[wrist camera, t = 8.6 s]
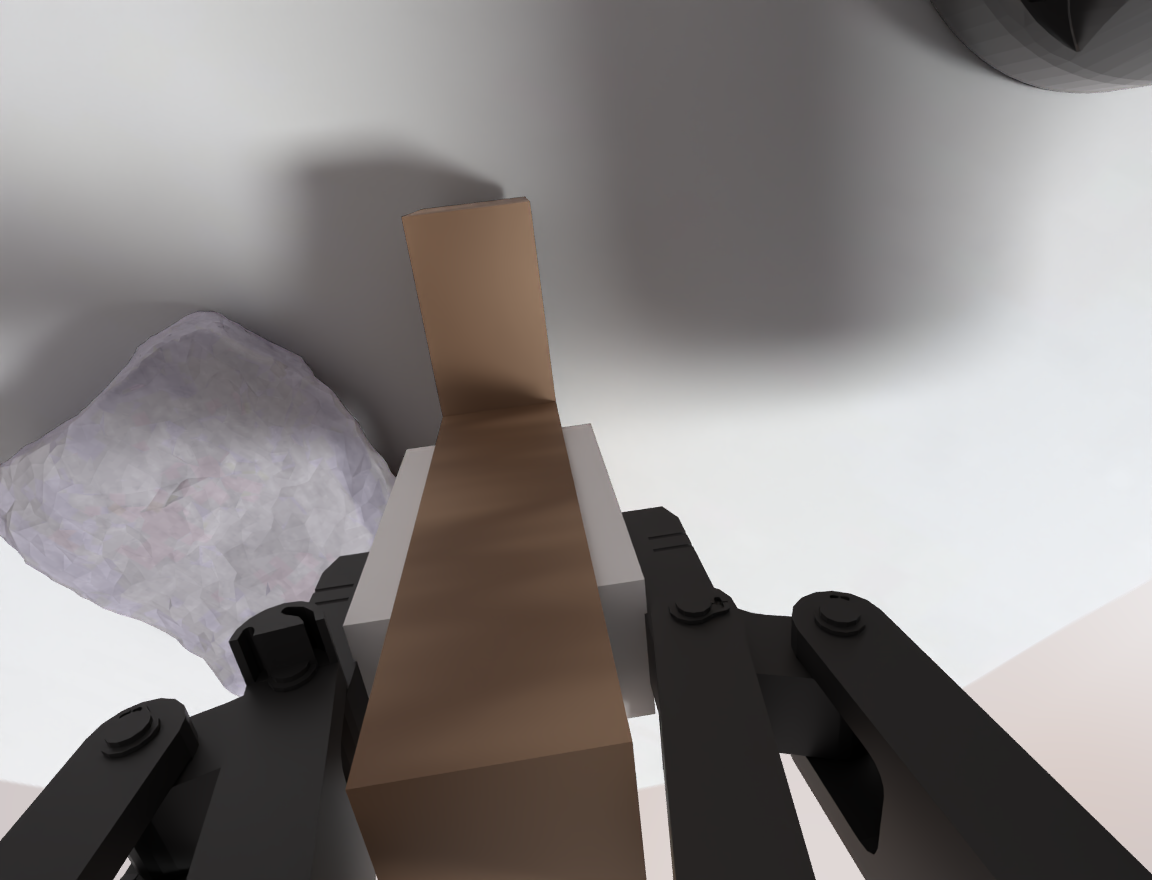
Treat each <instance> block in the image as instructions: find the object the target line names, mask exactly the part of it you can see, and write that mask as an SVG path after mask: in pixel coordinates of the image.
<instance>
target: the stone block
mask: <svg viewBox="0 0 1152 880" xmlns="http://www.w3.org/2000/svg"><path fill="white" fill-rule="evenodd" d="M395 480H396V477H395V476H394V475H393V474H392V473H391V471H390V469H389V467H388V464H387V463H386V461H385V460H384V459H383V457H382V456H381V455H379V453H378V452H377V451H376V450H375V449H374V448H373V446H372V445H371V444H370V443H369V441H368V440H367V438H366V436H365V435H364V433H363V431H362V429H361V427H360V425H359V423H358V422H357V421H356V420H355V419H354V417H353V416H352V415H351V414H350V413H349V412H348V410H347V409H346V408H345V407H344V406H343V404H342V403H341V401H340V400H339V399H338V397H337V396H336V395H335V393H334V392H333V391H332V389H330V388H329V387H327V386H326V385H325V384H324V383H322V382H321V381H320V380H318V379H317V378H316V377H315V376H314V374H313V372H312V370H311V369H310V367H309V366H308V365H307V364H306V363H305V362H304V361H303V359H302V357H301V356H299V355H297V354H295V353H293V352H291V351H289V350H286V349H284V348H282V347H280V346H278V345H276V344H274V343H272V342H270V341H268V340H266V339H264V338H262V337H261V336H259V335H257V334H255V333H253V332H251V331H249V330H247V329H245V328H244V327H243V326H241V325H240V324H239V323H236V322H234V321H231V320H229V319H227V318H226V317H225V316H223V315H222V314H221V313H217V312H213V311H209V312H203V311H197V312H195V313H191V314H189V315H187V316H185V317H183V318H181V319H180V320H179V321H178V322H176V323H174V324H173V325H171V326H169V327H168V328H166V329H165V330H163V331H161V332H160V333H159V334H156V335H153V336H151V337H150V338H149V339H148V340H147V341H145V342H144V343H143V344H141V345H140V346H138V347H137V349H136V352H135V353H134V355H133V356H132V358H131V359H130V361H129V363H128V365H127V366H126V367H125V368H123V369H122V370H121V371H120V373H119V374H118V375H117V376H116V377H115V378H114V379H113V380H112V381H111V382H110V383H109V385H108V386H107V387H106V388H105V389H104V390H103V391H102V392H101V393H100V394H99V395H98V396H97V397H96V398H95V399H93V400H92V401H91V403H90V404H89V405H88V406H87V407H86V408H84V409H83V410H81V412H80V413H79V414H78V415H77V416H75V417H73V418H71V419H69V420H68V421H66V422H64V423H63V424H61V425H59V426H58V427H56V428H55V429H53V430H52V431H50V432H49V433H47V434H46V435H44V436H43V437H41V438H40V439H38V440H37V441H35V442H33V443H30V444H27V445H25V446H24V447H23V448H22V449H21V450H19V451H18V452H17V453H16V454H15V455H14V456H12V457H11V458H10V459H9V460H8V461H6V462H5V463H2V464H1V465H0V536H1V537H3V538H4V540H5V541H6V542H7V543H8V544H9V545H11V546H12V547H13V548H15V549H16V550H17V551H18V553H19V554H20V555H21V556H22V557H23V558H24V561H25V563H26V564H28V565H29V566H31V567H33V568H34V569H36V570H38V571H39V572H41V573H43V574H45V575H46V576H48V577H49V578H50V579H51V580H53V581H55V582H57V583H59V584H61V585H63V586H65V587H67V588H69V589H71V590H73V591H74V592H75V593H77V594H78V595H79V596H81V597H83V598H85V599H88V600H90V601H92V602H94V603H95V604H97V605H99V606H100V607H102V608H104V609H107V610H109V611H112V612H115V613H118V614H120V615H124V616H128V617H131V618H134V619H137V620H141V621H143V622H145V623H147V624H150V625H152V626H154V627H156V628H158V629H160V630H162V631H164V632H166V633H168V634H169V635H171V636H172V637H174V638H176V639H177V640H178V641H179V642H180V643H181V645H182V646H183V647H184V648H185V649H187V650H188V651H190V652H191V653H193V654H195V655H197V656H199V657H201V658H203V659H204V660H205V661H206V663H207V664H208V665H209V667H210V668H211V669H212V670H213V672H214V673H215V675H216V676H217V678H218V679H219V680H220V682H221V683H222V685H223V686H224V687H225V688H226V689H227V690H228V691H230V692H231V693H233V694H235V695H237V696H239V697H241V696H243V695H244V692H245V688H246V684H245V681H244V679H243V676H242V674H241V671H240V669H239V667H238V664H237V662H236V659H235V657H234V654H233V652H232V650H231V647H230V645H229V642H228V641H229V640H230V638H231V637H232V635H233V634H234V632H235V631H236V629H237V628H239V627H240V626H241V625H242V624H243V623H245V622H246V621H247V620H248V619H249V618H251V617H253V616H255V615H256V614H258V613H260V612H262V611H264V610H266V609H268V608H271V607H274V606H277V605H280V604H283V603H288V602H296V601H305V602H309V601H310V599H311V597H312V594H313V593H315V588H316V586H317V584H318V581H319V579H320V577H321V575H322V573H323V572H324V571H325V570H326V569H327V568H328V567H329V566H330V565H331V564H332V563H333V562H334V561H335V560H336V559H337V558H338V557H339V556H344V555H351V554H358V553H364V552H370V549H371V546H372V544H373V541H374V538H375V535H376V533H377V530H378V527H379V524H380V522H381V519H382V516H383V513H384V511H385V508H386V505H387V502H388V499H389V497H390V494H391V491H392V488H393V486H394V483H395Z"/></svg>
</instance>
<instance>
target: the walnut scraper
mask: <svg viewBox="0 0 1152 880" xmlns="http://www.w3.org/2000/svg"><path fill="white" fill-rule="evenodd" d="M402 222H403V227H404V232H405V237H406V242H407V246H408V251H409V256H410V261H411V266H412V271H413V275H414V280H415V285H416V290H417V295H418V300H419V304H420V309H421V314H422V319H423V324H424V329H425V333H426V338H427V343H428V348H429V353H430V358H431V362H432V367H433V372H434V377H435V382H436V387H437V392H438V396H439V401H440V406H441V411H442V416H443V418H442V422H441V426H440V429H439V433H438V437H437V441H436V445H435V449H434V452H433V456H432V460H431V464H430V468H429V471H428V475H427V479H426V483H425V487H424V491H423V494H422V498H421V502H420V506H419V510H418V514H417V517H416V521H415V525H414V529H413V533H412V537H411V540H410V544H409V548H408V552H407V556H406V559H405V563H404V567H403V571H402V575H401V579H400V582H399V586H398V590H397V594H396V598H395V602H394V605H393V609H392V613H391V617H390V621H389V625H388V628H387V632H386V636H385V640H384V644H383V647H382V651H381V655H380V659H379V663H378V667H377V670H376V674H375V678H374V682H373V686H372V690H371V693H370V697H369V701H368V705H367V709H366V713H365V716H364V720H363V724H362V728H361V732H360V735H359V739H358V743H357V747H356V751H355V755H354V758H353V762H352V766H351V770H350V774H349V778H348V781H347V785H346V789H345V790H346V793H347V796H348V799H349V801H350V804H351V807H352V810H353V812H354V815H355V818H356V821H357V823H358V826H359V829H360V832H361V834H362V837H363V840H364V843H365V845H366V848H367V851H368V854H369V856H370V859H371V862H372V865H373V867H374V870H375V873H376V876H377V878H378V880H646V871H645V861H644V851H643V841H642V832H641V821H640V812H639V802H638V792H637V782H636V772H635V762H634V753H633V743H632V738H631V733H630V729H629V724H628V720H627V715H626V711H625V707H624V702H623V698H622V693H621V689H620V684H619V680H618V676H617V671H616V667H615V662H614V658H613V653H612V649H611V644H610V640H609V636H608V631H607V627H606V622H605V618H604V613H603V609H602V605H601V600H600V596H599V591H598V587H597V582H596V578H595V573H594V569H593V565H592V560H591V556H590V551H589V547H588V542H587V538H586V534H585V529H584V525H583V520H582V516H581V511H580V507H579V502H578V498H577V494H576V489H575V485H574V480H573V476H572V471H571V467H570V463H569V458H568V454H567V449H566V445H565V440H564V436H563V431H562V427H561V423H560V418H559V414H558V409H557V405H556V400H555V392H554V384H553V377H552V369H551V361H550V354H549V346H548V338H547V330H546V323H545V315H544V307H543V300H542V292H541V284H540V276H539V269H538V261H537V253H536V246H535V238H534V230H533V222H532V215H531V207H530V201H529V200H528V199H527V198H526V197H518V198H510V199H501V200H493V201H485V202H477V203H468V204H460V205H452V206H444V207H435V208H427V209H421V210H419V211H416V212H413V213H411V214H408V215H405V216H403V217H402Z"/></svg>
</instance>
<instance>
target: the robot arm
mask: <svg viewBox="0 0 1152 880" xmlns="http://www.w3.org/2000/svg"><path fill="white" fill-rule="evenodd" d="M931 2H932V3H933V5H934V7H935V8H936V10H937V11H938V13H939V14H940V16H941V17H942V19H943V20H944V21H945V23H946V24H947V25H948V26H949V28H950V29H951V30H952V31H953V33H954V34H955V35H956V36H957V37H958V38H959V39H960V40H961V41H962V42H963V43H964V44H965V46H966V47H968V48H969V49H970V50H971V51H972V52H973V53H975V54H976V55H977V56H978V57H979V58H980V59H982V60H983V61H985V62H986V63H988V64H989V65H990V66H992V67H993V68H995V69H997V70H998V71H1000V72H1002V73H1004V74H1006V75H1007V76H1009V77H1012V78H1014V79H1016V80H1019V81H1021V82H1023V83H1026V84H1029V85H1032V86H1036V87H1039V88H1043V89H1048V90H1053V91H1060V92H1069V93H1098V92H1109V91H1116V90H1122V89H1129V88H1136V87H1143V86H1150V85H1152V0H931ZM562 431H563V436H564V440H565V445H566V449H567V454H568V458H569V463H570V467H571V471H572V476H573V480H574V485H575V489H576V494H577V498H578V502H579V507H580V511H581V516H582V520H583V525H584V529H585V534H586V538H587V542H588V547H589V551H590V556H591V560H592V565H593V569H594V573H595V578H596V582H597V587H598V591H599V596H600V600H601V605H602V609H603V613H604V618H605V622H606V627H607V631H608V636H609V640H610V644H611V649H612V653H613V658H614V662H615V667H616V671H617V676H618V680H619V684H620V689H621V693H622V698H623V702H624V707H625V711H626V715H627V718H633V717H639V716H645V715H651V714H655V704H654V698H655V702H656V705H657V709H658V712H659V722H660V735H661V748H662V761H663V770H664V780H665V791H666V801H667V813H668V825H669V835H670V847H671V857H672V869H673V880H816V879H815V876H814V872H813V869H812V865H811V862H810V859H809V855H808V851H807V848H806V845H805V841H804V838H803V835H802V831H801V827H800V824H799V820H798V817H797V813H796V810H795V807H794V803H793V799H792V796H791V793H790V789H789V786H788V782H787V779H786V776H785V772H784V768H783V765H782V761H781V758H780V754H779V753H785V754H791V756H792V759H793V760H794V762H795V764H796V766H797V767H798V769H799V771H800V772H801V774H802V776H803V777H804V779H805V781H806V782H807V784H808V786H809V787H810V789H811V791H812V792H813V794H814V796H815V797H816V799H817V800H818V802H819V804H820V805H821V807H822V809H823V810H824V812H825V814H826V815H827V817H828V819H829V820H830V822H831V824H832V825H833V827H834V829H835V830H836V832H837V834H838V835H839V837H840V838H841V840H842V842H843V843H844V845H845V847H846V848H847V850H848V852H849V853H850V855H851V857H852V858H853V860H854V862H855V863H856V865H857V867H858V868H859V870H860V872H861V873H862V875H863V876H864V878H865V880H1152V874H1151V873H1150V872H1149V871H1148V870H1147V869H1146V868H1145V867H1144V866H1143V865H1142V864H1141V863H1140V862H1139V861H1138V860H1137V859H1136V858H1135V857H1134V856H1133V855H1132V854H1131V853H1130V852H1128V850H1126V849H1125V848H1124V847H1123V846H1122V845H1121V844H1120V843H1119V842H1118V841H1117V840H1116V839H1115V838H1114V837H1113V836H1112V835H1111V834H1110V833H1109V832H1108V831H1107V830H1106V829H1105V828H1104V827H1103V826H1102V825H1101V824H1100V823H1099V822H1098V821H1097V820H1096V819H1095V818H1094V817H1093V816H1092V815H1090V813H1089V812H1087V811H1086V810H1085V809H1084V808H1083V807H1082V806H1081V805H1080V804H1079V803H1078V802H1077V801H1076V800H1075V799H1074V798H1073V797H1072V796H1071V795H1070V794H1069V793H1068V792H1067V791H1066V790H1065V789H1064V788H1063V787H1062V786H1061V785H1060V784H1059V783H1058V782H1057V781H1056V780H1055V779H1054V778H1053V777H1052V776H1051V775H1050V774H1048V773H1047V771H1046V770H1044V769H1043V768H1042V767H1041V766H1040V765H1039V764H1038V763H1037V762H1036V761H1035V760H1034V759H1033V758H1032V757H1031V756H1030V755H1029V754H1028V753H1027V752H1026V751H1025V750H1024V749H1023V748H1022V747H1021V746H1020V745H1019V744H1018V743H1017V742H1016V741H1015V740H1014V739H1013V738H1012V737H1011V736H1009V734H1008V733H1007V732H1005V731H1004V730H1003V729H1002V728H1001V727H1000V726H999V725H998V724H997V723H996V722H995V721H994V720H993V719H992V718H991V717H990V716H989V715H988V714H987V713H986V712H985V711H984V710H983V709H982V708H981V707H980V706H979V705H978V704H977V703H976V702H975V701H973V699H972V698H971V697H970V696H968V694H967V693H966V692H965V691H963V690H962V689H961V688H960V687H959V686H958V685H957V684H956V683H955V682H954V681H953V680H952V679H951V678H950V677H949V676H948V675H947V674H946V673H945V672H944V671H943V670H942V669H941V668H940V667H939V666H938V665H937V664H936V663H935V662H934V661H933V660H932V659H931V658H930V657H929V656H928V655H927V654H926V653H925V652H923V651H922V650H921V649H920V648H919V647H918V646H917V645H916V644H915V643H914V642H913V641H912V640H911V639H910V638H909V637H908V636H907V635H906V634H905V633H904V632H903V631H902V630H901V629H900V628H899V627H898V626H897V625H896V624H895V623H894V622H893V621H892V620H891V619H890V618H889V617H888V616H887V615H886V614H885V613H884V612H882V611H881V610H880V609H879V608H878V607H876V606H875V605H873V604H872V603H870V602H869V601H868V600H866V599H863V598H860V597H858V596H855V595H852V594H849V593H842V592H836V591H826V592H815V593H812V594H810V595H807V596H805V597H802V598H801V599H800V600H799V601H798V602H797V603H796V604H795V605H794V606H793V612H792V617H789V616H775V615H763V614H756V613H750V612H747V611H744V610H741V609H738V608H737V607H736V605H735V603H734V602H733V600H732V598H731V597H730V596H728V595H727V594H725V593H724V592H722V591H721V590H719V589H716V588H714V587H713V585H712V583H711V581H710V579H709V577H708V575H707V573H706V571H705V569H704V567H703V565H702V563H701V561H700V559H699V557H698V555H697V553H696V552H695V550H694V548H693V546H692V545H691V542H690V540H689V538H688V536H687V535H686V532H685V530H684V528H683V526H682V524H681V522H680V520H679V518H678V517H677V516H675V515H674V514H672V513H671V512H669V511H668V510H667V509H665V508H664V507H655V508H648V509H642V510H635V511H628V512H621V510H620V507H619V504H618V501H617V498H616V495H615V493H614V490H613V487H612V484H611V481H610V478H609V475H608V472H607V469H606V467H605V464H604V461H603V458H602V455H601V452H600V449H599V446H598V443H597V441H596V438H595V435H594V432H593V429H592V426H591V423H590V424H583V425H576V426H569V427H562ZM434 449H435V445H434V446H427V447H419V448H412V449H407V450H406V453H405V455H404V458H403V461H402V464H401V466H400V469H399V472H398V475H397V477H396V480H395V483H394V486H393V488H392V491H391V494H390V497H389V499H388V502H387V505H386V508H385V511H384V513H383V516H382V519H381V522H380V524H379V527H378V530H377V533H376V535H375V538H374V541H373V544H372V546H371V549H370V552H364V553H358V554H351V555H344V556H339V557H338V558H337V559H336V560H335V561H334V562H333V563H332V564H331V565H330V566H329V567H328V568H327V569H326V570H325V571H324V572H323V573H322V575H321V577H320V579H319V581H318V584H317V586H316V588H315V593H313V594H312V597H311V599H310V601H309V602H305V601H296V602H288V603H283V604H280V605H277V606H274V607H271V608H268V609H266V610H264V611H262V612H260V613H258V614H256V615H255V616H253V617H251V618H249V619H248V620H247V621H246V622H245V623H243V624H242V625H241V626H240V627H239V628H237V629H236V631H235V632H234V634H233V635H232V637H231V638H230V640H229V641H228V642H229V645H230V647H231V650H232V652H233V654H234V657H235V659H236V662H237V664H238V667H239V669H240V671H241V674H242V676H243V679H244V681H245V684H246V688H245V692H244V695H243V696H241V697H239V698H237V699H235V700H232V701H230V702H228V703H225V704H223V705H220V706H218V707H215V708H212V709H210V710H207V711H204V712H202V713H199V714H196V715H194V716H191V717H189V715H188V712H187V710H186V708H185V706H184V705H183V704H181V703H180V702H179V701H177V700H176V699H165V698H159V699H155V700H151V701H146V702H142V703H140V704H137V705H135V706H132V707H130V708H128V709H126V710H124V711H121V712H120V713H118V714H117V715H115V716H114V717H112V718H111V719H109V720H108V721H106V722H105V723H103V724H102V725H101V726H100V727H98V728H97V729H96V730H95V731H94V732H93V733H92V734H91V735H90V736H89V737H88V738H87V739H86V740H85V741H84V742H83V743H82V745H81V746H80V747H79V748H78V749H77V751H76V752H75V753H74V754H73V755H72V757H71V758H70V759H69V760H68V761H67V762H66V764H65V765H64V766H63V767H62V768H61V770H60V771H59V772H58V773H57V774H56V776H55V777H54V778H53V779H52V780H51V781H50V783H49V784H48V785H47V786H46V787H45V789H44V790H43V791H42V792H41V793H40V795H39V796H38V797H37V798H36V800H34V802H33V803H32V804H31V805H30V806H29V808H28V809H27V810H26V811H25V812H24V814H23V815H22V816H21V817H20V818H19V820H18V821H17V822H16V823H15V824H14V825H13V827H12V828H11V829H10V830H9V831H8V833H7V834H6V835H5V836H4V837H3V838H2V840H1V841H0V880H113V879H114V877H115V876H116V874H117V873H118V871H119V869H120V868H121V866H122V865H123V863H124V862H125V860H126V858H127V857H128V858H129V860H130V861H131V865H130V866H129V868H128V870H127V871H126V873H125V874H124V876H123V877H122V878H121V879H120V880H376V873H375V870H374V867H373V865H372V862H371V859H370V856H369V854H368V851H367V848H366V845H365V843H364V840H363V837H362V834H361V832H360V829H359V826H358V823H357V821H356V818H355V815H354V812H353V810H352V807H351V804H350V801H349V799H348V796H347V793H346V790H345V789H346V785H347V781H348V778H349V774H350V770H351V766H352V762H353V758H354V755H355V751H356V747H357V743H358V739H359V735H360V732H361V728H362V724H363V720H364V716H365V713H366V709H367V705H368V701H369V697H370V693H371V690H372V686H373V682H374V678H375V674H376V670H377V667H378V663H379V659H380V655H381V651H382V647H383V644H384V640H385V636H386V632H387V628H388V625H389V621H390V617H391V613H392V609H393V605H394V602H395V598H396V594H397V590H398V586H399V582H400V579H401V575H402V571H403V567H404V563H405V559H406V556H407V552H408V548H409V544H410V540H411V537H412V533H413V529H414V525H415V521H416V517H417V514H418V510H419V506H420V502H421V498H422V494H423V491H424V487H425V483H426V479H427V475H428V471H429V468H430V464H431V460H432V456H433V452H434Z"/></svg>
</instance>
